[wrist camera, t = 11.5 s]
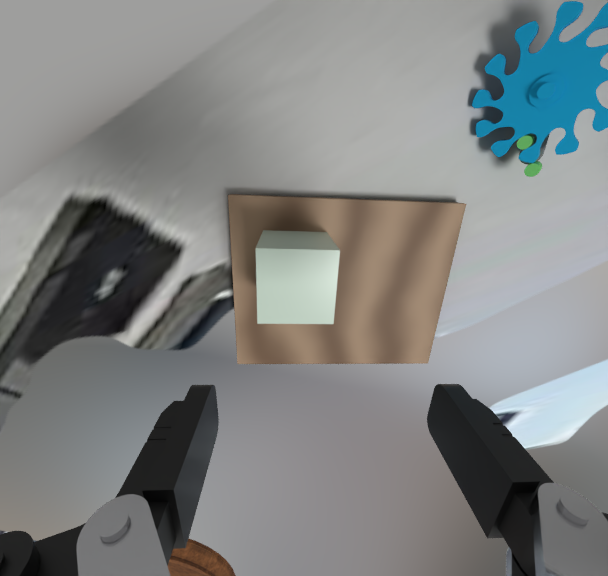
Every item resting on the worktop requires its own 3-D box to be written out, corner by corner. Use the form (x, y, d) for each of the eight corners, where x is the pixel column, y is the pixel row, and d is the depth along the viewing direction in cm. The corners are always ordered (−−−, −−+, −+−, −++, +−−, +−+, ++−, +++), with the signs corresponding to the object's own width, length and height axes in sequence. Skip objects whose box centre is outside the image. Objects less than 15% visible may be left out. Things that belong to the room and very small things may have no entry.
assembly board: (457, 202, 28) (495, 208, 23) (422, 355, 35) (445, 387, 29) (231, 194, 26) (217, 198, 21) (239, 356, 33) (231, 389, 28)
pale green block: (327, 232, 27) (339, 250, 20) (322, 290, 29) (333, 324, 22) (263, 230, 26) (255, 248, 20) (263, 289, 29) (257, 323, 22)
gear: (484, 20, 21) (693, -34, 15) (501, 31, 25) (674, -9, 19) (457, 175, 27) (603, 180, 21) (474, 165, 31) (602, 167, 25)
